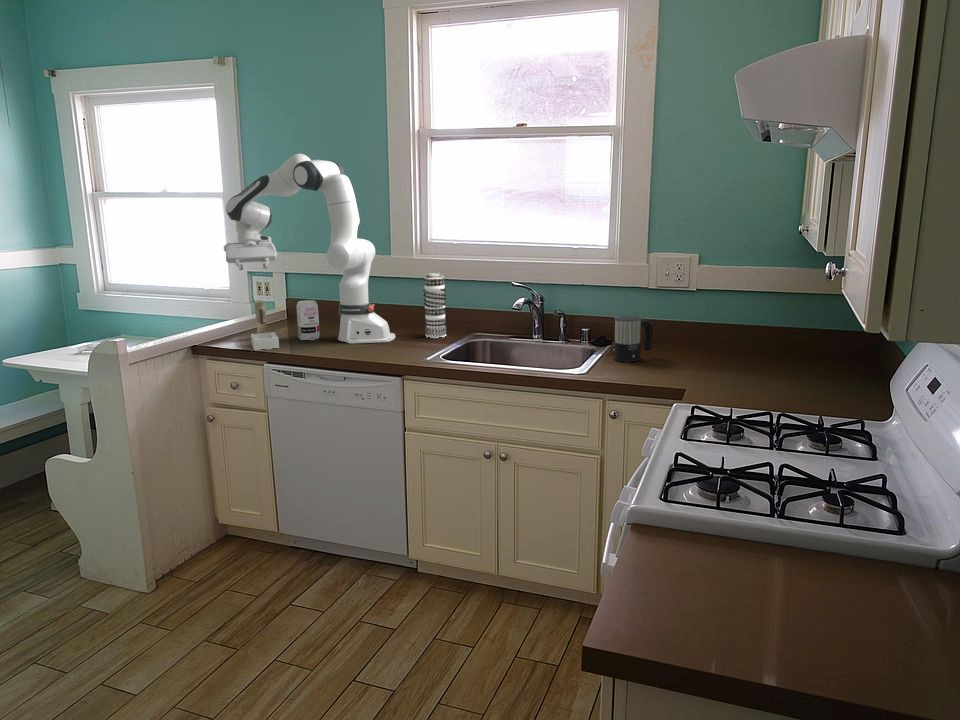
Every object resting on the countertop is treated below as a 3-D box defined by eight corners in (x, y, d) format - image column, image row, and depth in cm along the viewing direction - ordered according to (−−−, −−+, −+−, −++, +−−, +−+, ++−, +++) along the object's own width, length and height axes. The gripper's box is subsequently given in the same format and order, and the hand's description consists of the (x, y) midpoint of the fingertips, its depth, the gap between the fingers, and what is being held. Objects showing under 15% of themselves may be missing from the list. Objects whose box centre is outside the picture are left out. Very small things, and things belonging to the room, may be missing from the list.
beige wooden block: (266, 337, 304) (263, 300, 301) (267, 339, 300) (264, 302, 296) (257, 338, 303) (254, 301, 300) (258, 340, 299) (255, 303, 295)
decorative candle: (440, 332, 309) (438, 271, 303) (451, 336, 301) (450, 273, 295) (420, 335, 304) (418, 273, 298) (431, 339, 296) (429, 275, 291)
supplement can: (308, 336, 306) (306, 299, 302) (324, 338, 301) (321, 300, 298) (294, 339, 299) (291, 302, 295) (309, 341, 295) (307, 303, 291)
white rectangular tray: (251, 344, 291) (250, 334, 290) (275, 342, 294) (274, 332, 294) (254, 350, 280) (253, 340, 280) (279, 348, 284) (278, 337, 283)
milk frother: (627, 364, 252) (628, 320, 249) (593, 356, 265) (594, 314, 261) (656, 358, 260) (657, 315, 257) (622, 350, 273) (623, 309, 269)
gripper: (222, 238, 307) (226, 265, 301) (274, 236, 314) (279, 262, 308) (223, 248, 312) (226, 274, 306) (274, 246, 319) (278, 272, 313)
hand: (253, 268), depth 307 cm, fingers open, 8 cm apart
